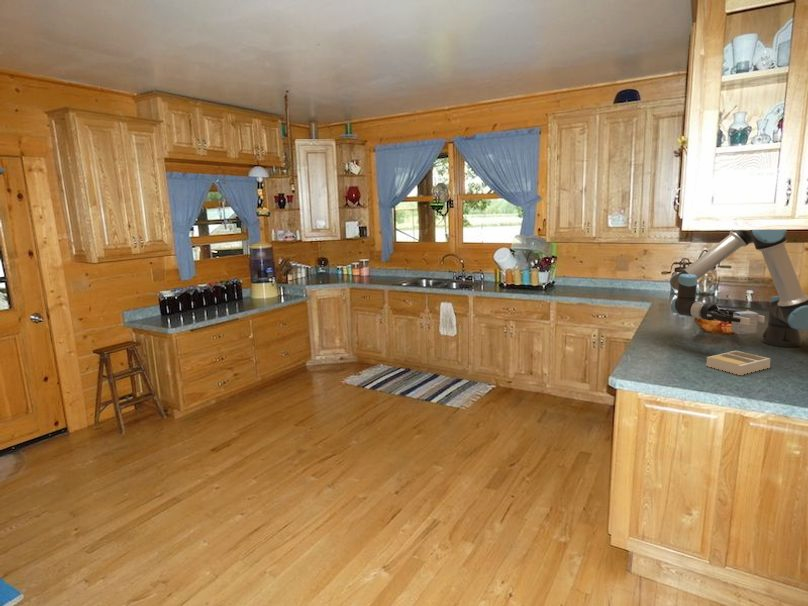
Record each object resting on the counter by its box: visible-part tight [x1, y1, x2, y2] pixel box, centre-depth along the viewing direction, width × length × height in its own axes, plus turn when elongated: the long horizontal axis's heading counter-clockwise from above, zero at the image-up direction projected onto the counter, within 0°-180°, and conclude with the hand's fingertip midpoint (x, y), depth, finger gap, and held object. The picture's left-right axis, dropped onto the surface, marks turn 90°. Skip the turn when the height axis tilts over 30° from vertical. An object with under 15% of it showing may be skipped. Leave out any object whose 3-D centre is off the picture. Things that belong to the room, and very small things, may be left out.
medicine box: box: [731, 310, 760, 334], centre depth 207 cm, size 8×4×9 cm, turn 91°
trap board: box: [705, 350, 771, 376], centre depth 204 cm, size 19×14×4 cm
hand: (756, 320), depth 202 cm, fingers closed on medicine box, 9 cm apart
